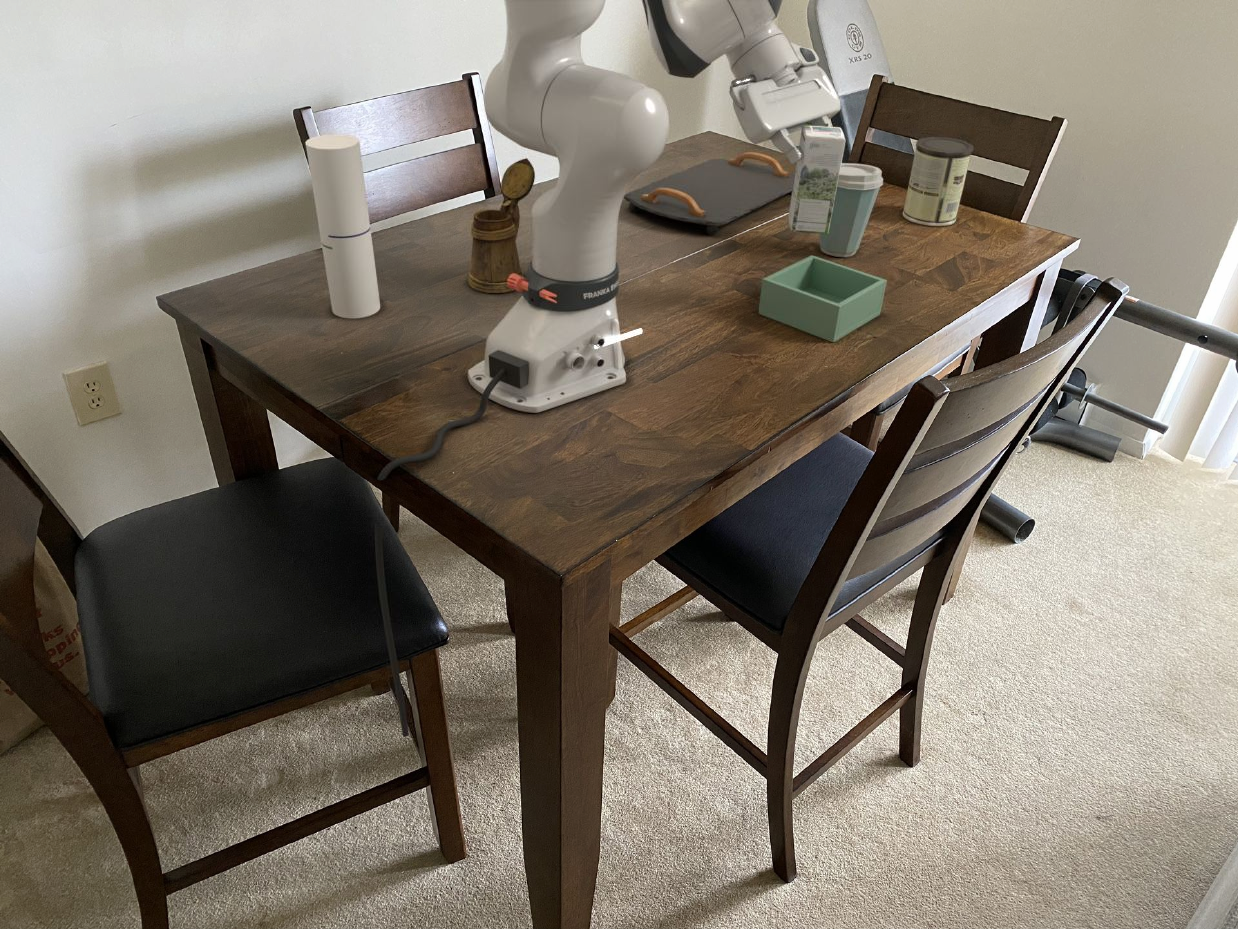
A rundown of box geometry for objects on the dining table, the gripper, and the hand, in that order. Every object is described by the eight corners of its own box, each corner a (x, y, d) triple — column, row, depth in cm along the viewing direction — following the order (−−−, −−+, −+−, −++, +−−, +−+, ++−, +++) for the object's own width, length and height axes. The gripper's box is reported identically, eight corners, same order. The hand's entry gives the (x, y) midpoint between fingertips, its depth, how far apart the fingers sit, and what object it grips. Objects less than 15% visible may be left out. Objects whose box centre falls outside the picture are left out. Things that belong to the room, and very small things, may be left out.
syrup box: (824, 222, 144) (841, 125, 136) (828, 235, 140) (846, 136, 131) (787, 219, 145) (801, 122, 136) (790, 233, 140) (805, 133, 131)
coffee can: (911, 204, 189) (926, 133, 181) (962, 215, 184) (980, 142, 176) (894, 219, 182) (909, 145, 174) (947, 230, 177) (964, 155, 169)
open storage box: (833, 342, 138) (839, 306, 134) (758, 313, 145) (762, 278, 142) (880, 314, 146) (887, 280, 143) (806, 288, 153) (811, 255, 150)
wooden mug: (551, 271, 156) (550, 163, 146) (499, 298, 147) (494, 185, 137) (510, 258, 160) (506, 152, 150) (457, 284, 151) (448, 173, 141)
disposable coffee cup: (796, 248, 168) (808, 164, 159) (834, 235, 174) (847, 153, 165) (843, 267, 161) (859, 180, 153) (881, 252, 167) (898, 168, 159)
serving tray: (711, 243, 168) (714, 210, 165) (610, 213, 180) (611, 181, 176) (813, 191, 194) (818, 161, 190) (720, 167, 205) (722, 138, 202)
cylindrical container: (368, 320, 139) (345, 151, 125) (323, 315, 140) (296, 146, 126) (387, 301, 145) (367, 136, 131) (344, 295, 146) (320, 132, 132)
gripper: (739, 67, 127) (789, 156, 127) (821, 48, 140) (866, 129, 140) (710, 95, 132) (759, 181, 132) (792, 75, 145) (836, 153, 145)
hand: (815, 154), depth 136 cm, fingers closed on syrup box, 7 cm apart
